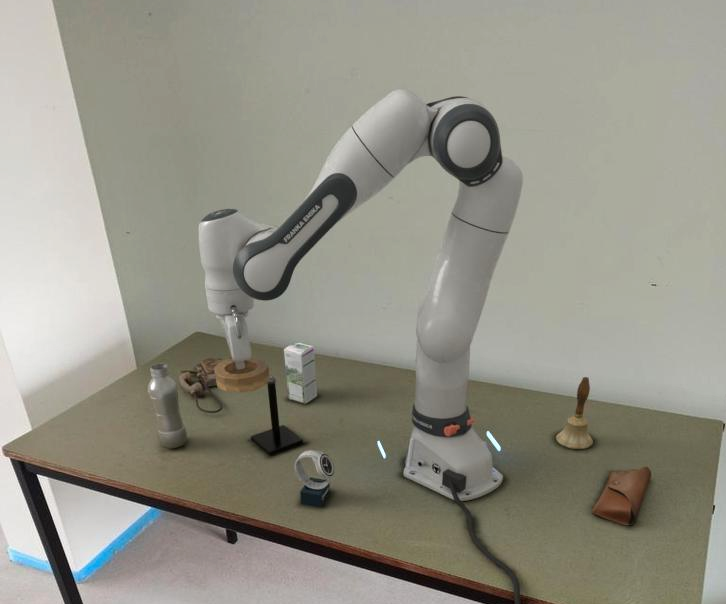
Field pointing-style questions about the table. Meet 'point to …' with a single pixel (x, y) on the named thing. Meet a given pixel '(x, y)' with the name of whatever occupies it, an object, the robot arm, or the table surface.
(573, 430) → the hand bell
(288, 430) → the stand
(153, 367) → the plastic bottle
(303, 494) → the watch
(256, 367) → the ring
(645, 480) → the sunglasses case
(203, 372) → the telephone
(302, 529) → the table surface
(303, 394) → the syrup box
